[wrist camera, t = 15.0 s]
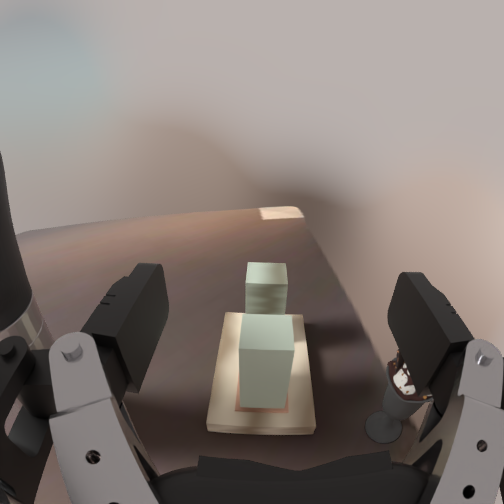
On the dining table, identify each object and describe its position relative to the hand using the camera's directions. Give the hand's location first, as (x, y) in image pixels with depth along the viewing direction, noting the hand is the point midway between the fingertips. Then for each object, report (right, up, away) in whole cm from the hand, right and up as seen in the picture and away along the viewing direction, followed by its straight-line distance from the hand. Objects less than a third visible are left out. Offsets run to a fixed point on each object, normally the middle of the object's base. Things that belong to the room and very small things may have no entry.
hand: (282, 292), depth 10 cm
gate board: (0, -15, +28) cm, 32 cm away
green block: (0, -15, +23) cm, 27 cm away
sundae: (+15, -20, +19) cm, 31 cm away
